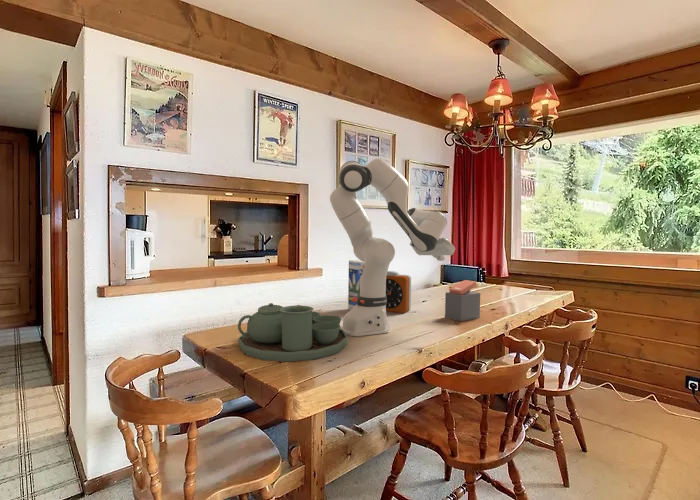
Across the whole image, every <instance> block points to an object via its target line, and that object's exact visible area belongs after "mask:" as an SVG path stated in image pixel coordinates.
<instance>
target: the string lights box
mask: <svg viewBox="0 0 700 500" xmlns="http://www.w3.org/2000/svg"><path fill="white" fill-rule="evenodd" d="M364 267H365V262H363V261H361V260H359V259H353V260H352V259H350V260H348V285H347V286H348V291H347V292H348V295H347V296H348V298H347V302H348V303H347V304H348V305H347V309H348V310H349V311H350V310H351V309H352V308H353V307H354V306H356V305H357V304H356V303H357V302H353V301H352V297H356V298H358V297H359V295H360V277H361V275H362V274H363V271H364Z"/></svg>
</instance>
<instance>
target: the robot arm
mask: <svg viewBox="0 0 700 500" xmlns="http://www.w3.org/2000/svg"><path fill="white" fill-rule="evenodd" d="M338 180H339V186H338V187H337V188H336V189H334V190H333V191H332V193H330V196H329V200H330V201H329V202H330V203H331V206H332V209H333V211H334V213H335V215H336V217H337V218H338V220H339V222H340V224H341V225H342V227H343V229H344V230H345V232H346V233H347V236H348V237H349V240H350V243H351V246H352V248H353V249H352V251H353V254H354V256H355V257H356V258H357V260H361V261H363V262H365V267H364V271H363V274H362V275H361V277H360V295H359V297H358V298H356V297H352V301H353V302H357V303H356V304H357V305H356V306H354V307H353V308H352V309H351V310H349V311H347V313H345V315H344V317H343V320H342V321H343V322H342V325H340V326H341V328H340V329H342V330H344V332H345V334H346V336H349V337H363V336H373V335H379V334H380V335H381V334H387V333H388V331H389V330H390V326H389V322H388V316H387V311H386V304H387V296H386V276H387V271H389V266H390V264H391V263H392V261H393V260H394V258H395V255H396V250H395V247H394V245H393V243H392V242H389V241H388V240H386V239H384V238H377V237H376V236H375V234H374V232H373V229H372V221H371V218H370V217H369V216H368V214H367V213H366V211H365V208H364V207H363V205H362V203H361V202H360V200H359V198H358V196H357V193H358V192H360V191H361V190H363V189H365V188H367V187H369V186H372V187H373V188H375V189H376V190H377V192H379V193H380V195H382V197H383V199H385V203H386V204H387V210H388V212H389V213H390V215H391V216H392V218H393V219H394V220H395V221H396V223H397V224H398V225H399V227H400V228H401V229H402V230H403V232H404V233H405V234H406V236H407V237H408V238H409V240H410V242H409V246H410V247H412V250H413V251H414V252H415V254H417V255H418V256H432V257H433V258H435V259H436V260H437V261H438V262H439V261H440V262H442V261H445V259H446V257H445V256H453V255H454V253H455V250H456V247H455V246H454V244H453V243H452V242H451V241H450V240H449V239H447V238H444V237H441V235H442V234H443V232H444V230H445V229H446V226H447V225H448V220H447V218H446V216H445V215H444V214H443V213H442V212H441V211H438V210H430V211H425V210H420V209H418V208H417V207H412V208H409V210H407V209H408V208H407V201H408V196H409V190H410V189H409V183H408V181H407V179H406V178H405V177H404V176H403V175H402V173H401V172H399V171H398V170H397V168H395V167H394V166H392V165H391V164H390V163H388V162H387V161H385V160H384V159H382V158H379V157H377V158H374V159H372V160H370V162H368V163H367V164H366V165H363V164H361V163H359V162H358V161H355V160H349V161H346V162H344V163H343V164H342V165H341V167H340V168H339V172H338Z"/></svg>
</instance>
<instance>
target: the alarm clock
mask: <svg viewBox="0 0 700 500" xmlns="http://www.w3.org/2000/svg"><path fill="white" fill-rule="evenodd" d="M386 296H387V304H386V312H390V313H397V314H398V313H400V314H405V313H406V312H409V311H411V309H412V277H411V275H409V274H400V273H399V272H397V271H395V270H388V271H387V276H386Z"/></svg>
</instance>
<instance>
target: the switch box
mask: <svg viewBox="0 0 700 500" xmlns="http://www.w3.org/2000/svg"><path fill="white" fill-rule="evenodd" d="M444 298H445V299H444V300H445V304H444V306H445V307H444V318H446V317H447V319H452V320H455V321H459V322H465V321H469V320H471V321H472V320H475V319H479V318H481V317H480V316H481V293H480V292H476V291H472V290H470V292H469V293H466V292H465V293H464V294H462V295H460V294H455V293H450V291H448V292H445V297H444Z"/></svg>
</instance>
